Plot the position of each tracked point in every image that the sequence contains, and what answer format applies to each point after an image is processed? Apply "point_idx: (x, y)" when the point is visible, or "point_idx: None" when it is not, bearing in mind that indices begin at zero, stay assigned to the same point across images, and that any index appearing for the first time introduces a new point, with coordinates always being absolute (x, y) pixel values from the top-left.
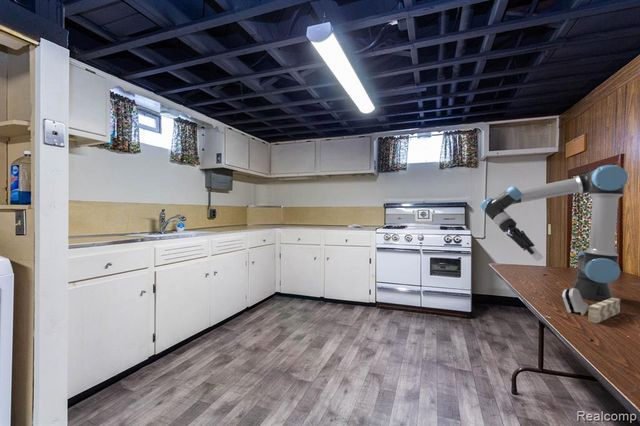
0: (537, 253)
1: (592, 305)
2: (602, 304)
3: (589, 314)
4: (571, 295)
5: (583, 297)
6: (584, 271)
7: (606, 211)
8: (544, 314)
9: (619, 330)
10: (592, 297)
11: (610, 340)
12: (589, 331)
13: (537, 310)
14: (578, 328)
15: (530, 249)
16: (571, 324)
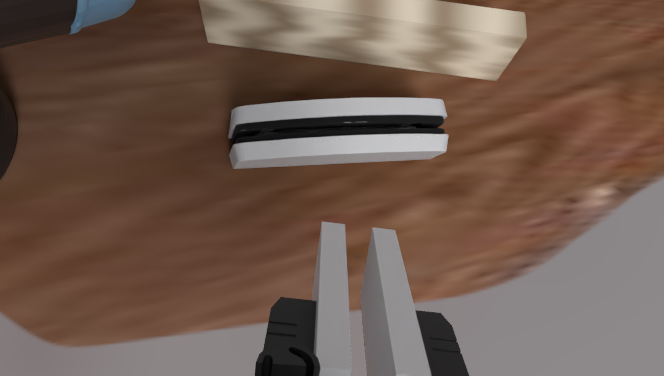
0: (403, 266)
1: (493, 29)
2: (424, 6)
3: (509, 58)
4: (443, 104)
5: (6, 165)
6: (47, 22)
7: None
8: (579, 215)
9: (500, 3)
10: (8, 120)
11: (642, 11)
12: (619, 60)
13: (547, 257)
14: (625, 88)
15: (462, 363)
16: (603, 112)
